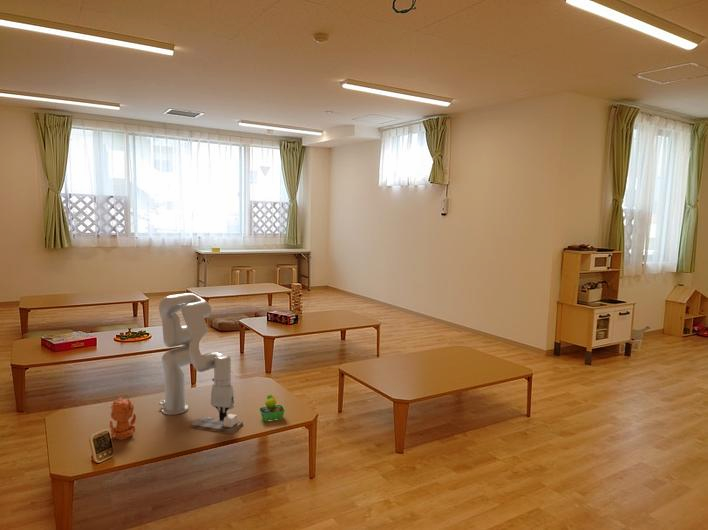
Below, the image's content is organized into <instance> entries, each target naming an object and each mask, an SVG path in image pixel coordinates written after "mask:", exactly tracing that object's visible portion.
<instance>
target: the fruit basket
mask: <svg viewBox="0 0 708 530" xmlns="http://www.w3.org/2000/svg"><path fill="white" fill-rule="evenodd" d="M258 409H259V412H260V414H261V418H263V419H262V421H263V420H264V421H268V420H275V419H281V418H282V419H283V417H284V414H285V411H286V410H285V408H284V406H283V405H282V404H277V400H276V397H275V396H274V395H272V394H268V395H267V397H266V400H265V406H263V407H259V408H258ZM264 421H263V422H264ZM268 422H269V421H268Z"/></svg>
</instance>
